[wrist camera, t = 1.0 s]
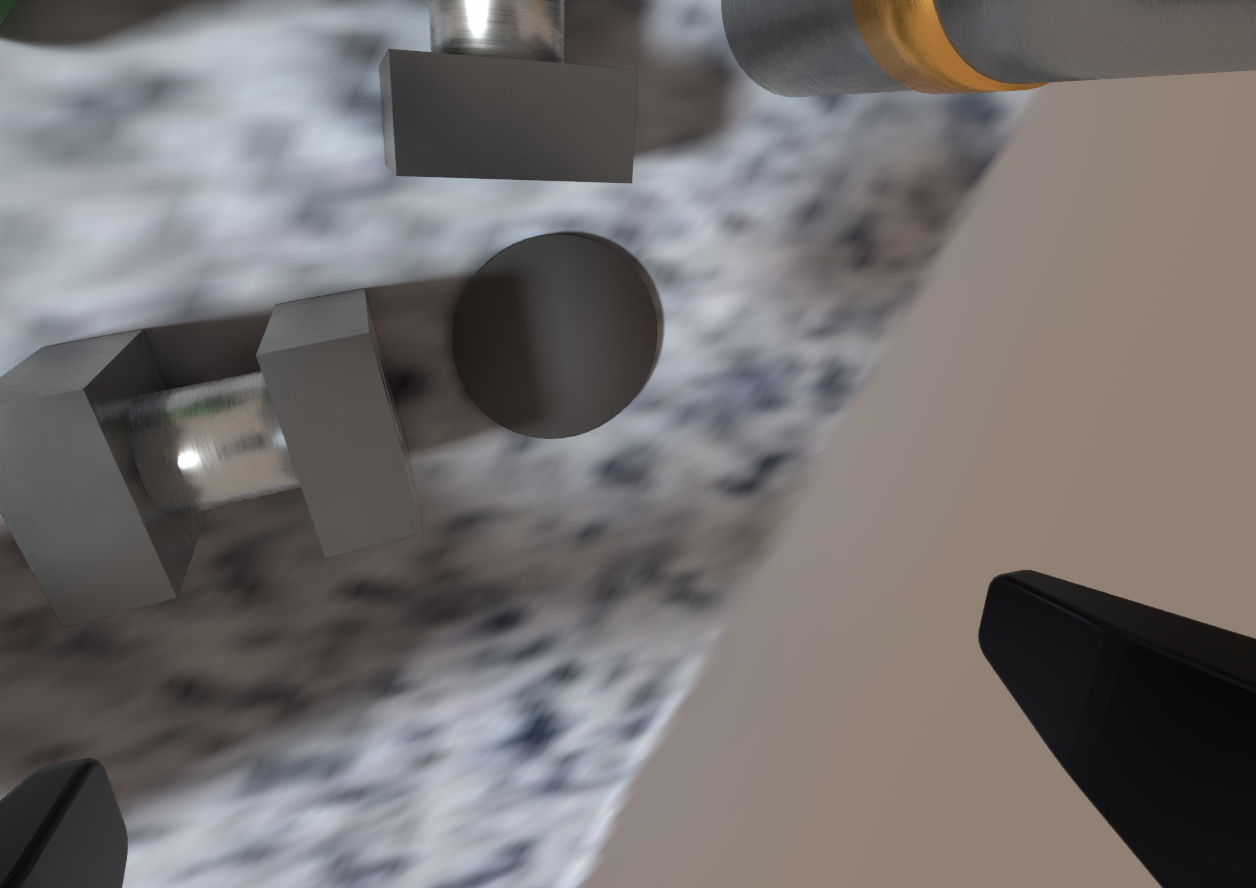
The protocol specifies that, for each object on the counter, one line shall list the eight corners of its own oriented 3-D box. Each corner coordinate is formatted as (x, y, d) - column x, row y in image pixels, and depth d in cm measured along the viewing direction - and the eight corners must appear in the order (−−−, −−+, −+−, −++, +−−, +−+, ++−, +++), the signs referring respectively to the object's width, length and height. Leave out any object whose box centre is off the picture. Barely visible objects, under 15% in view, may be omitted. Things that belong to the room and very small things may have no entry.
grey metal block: (122, 522, 18) (62, 628, 14) (41, 348, 16) (-53, 416, 13) (408, 454, 20) (423, 532, 16) (364, 288, 18) (368, 332, 14)
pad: (476, 455, 21) (478, 459, 20) (431, 254, 18) (432, 256, 18) (662, 409, 22) (666, 413, 22) (641, 217, 20) (645, 218, 19)
